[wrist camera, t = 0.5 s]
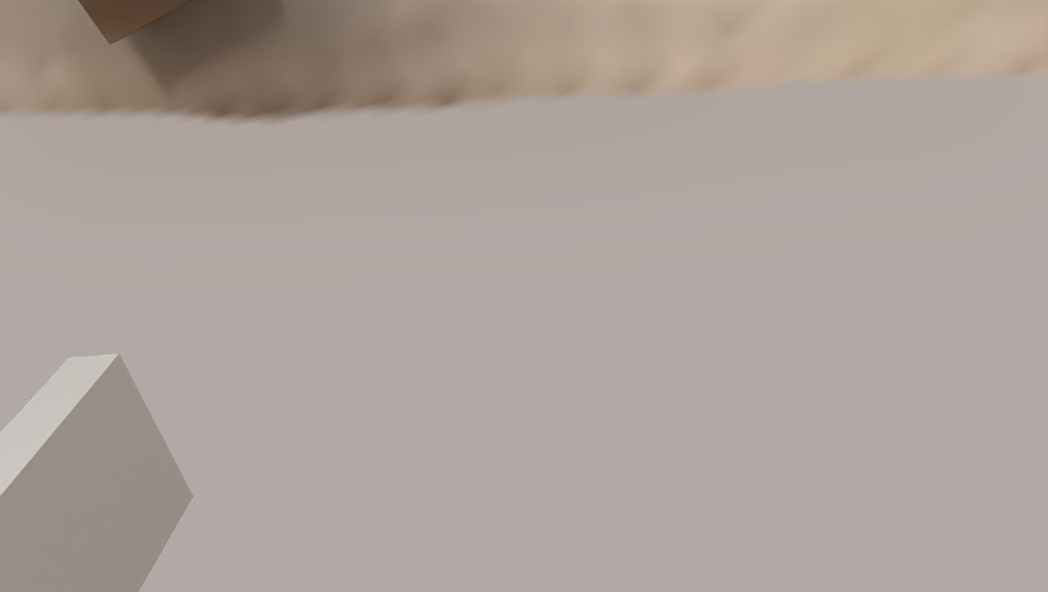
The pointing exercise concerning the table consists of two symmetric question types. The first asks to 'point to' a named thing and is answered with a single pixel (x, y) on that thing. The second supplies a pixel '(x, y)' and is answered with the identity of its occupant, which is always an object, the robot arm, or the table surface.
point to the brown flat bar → (127, 14)
